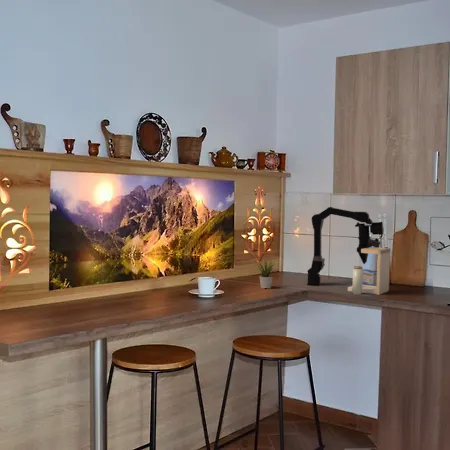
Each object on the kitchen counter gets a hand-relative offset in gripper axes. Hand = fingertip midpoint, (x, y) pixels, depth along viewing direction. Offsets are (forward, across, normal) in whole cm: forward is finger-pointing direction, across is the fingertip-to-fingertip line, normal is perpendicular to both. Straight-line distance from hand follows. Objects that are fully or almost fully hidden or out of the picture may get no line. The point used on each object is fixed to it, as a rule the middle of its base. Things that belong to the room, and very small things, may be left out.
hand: (364, 263), depth 359 cm
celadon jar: (+13, -20, +2) cm, 24 cm away
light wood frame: (+14, -9, -2) cm, 16 cm away
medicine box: (+15, +14, -1) cm, 20 cm away
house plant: (+10, -24, +49) cm, 55 cm away
